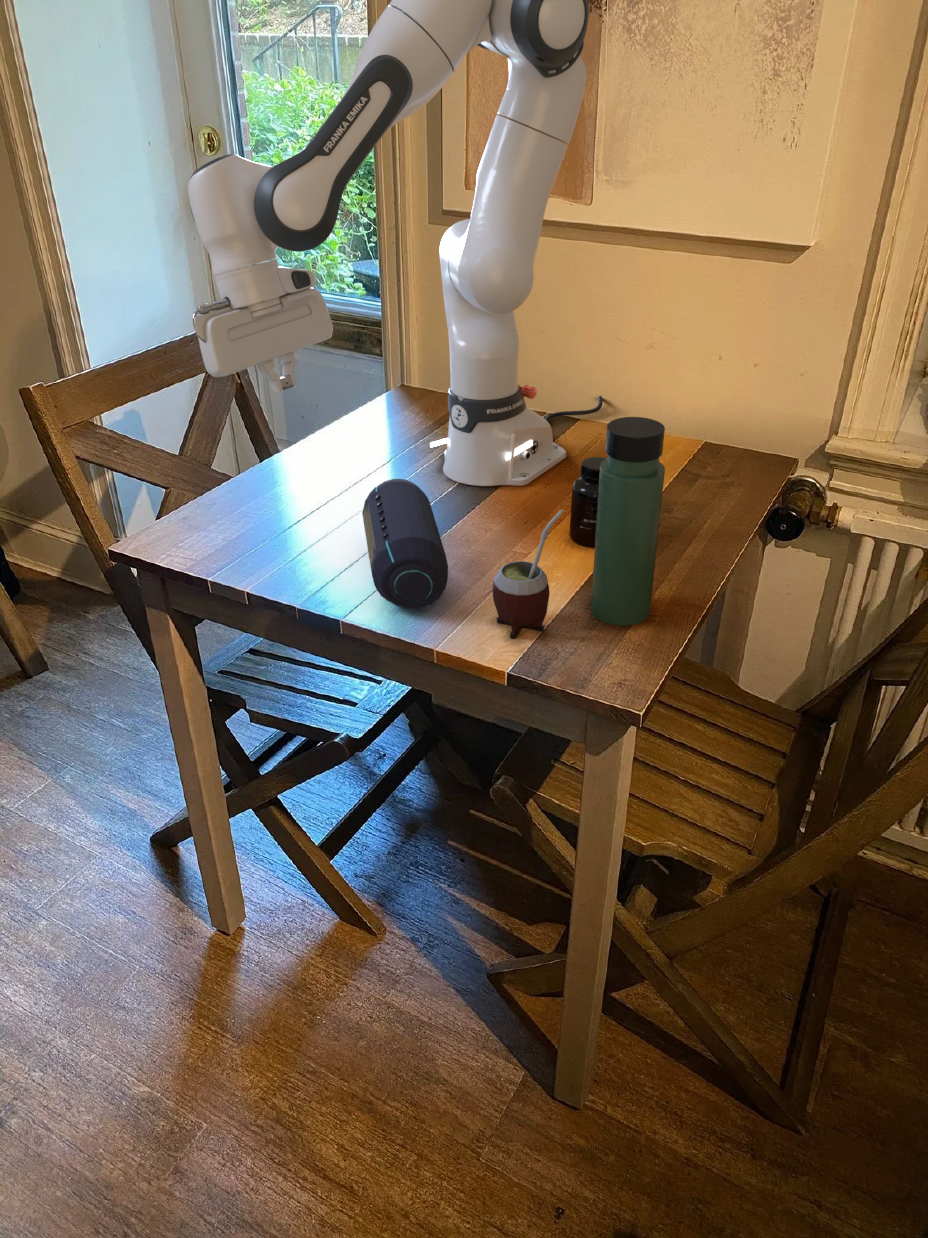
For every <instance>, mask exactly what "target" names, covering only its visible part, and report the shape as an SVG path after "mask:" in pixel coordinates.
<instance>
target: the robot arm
mask: <svg viewBox="0 0 928 1238" xmlns="http://www.w3.org/2000/svg"><path fill="white" fill-rule="evenodd" d="M589 13H590V3H589V0H390V2H389V4H387V6H386V7H385V9H384V10H383V12H382V13H381V14H380V16H379V18H378V19H377V21H376V22H375V24H374V25H373V26H372V29H371V31H370V33H369V34H368V36H367V38H366V40H365V42H364V44H363V46H362V48H361V49H360V50H361V51H360V52H359V55H358V57H357V61H356V64H355V68H354V72H353V76H352V78H351V81H350V83H349V85H348V88H347V90H346V91H345V93H344V95H343V96H342V97H341V98H340V99H341V100H340V101H339V102H338V103H337V105H336V106H335V107H334V109H333V110H332V111H331V113H330V114H329V116H328V117H327V118H326V120H325V121H324V122H323V123H322V125H321V126H320V127H319V129H318V130H317V131H316V133H315V134H314V136H313V137H312V138H311V140H310V141H309V142H308V143H307V144H306V145H305V146H304V148H303V149H302V150H301V151H299V152H298V153H297V154H295V155H293V156H291V157H289V158H287V159H285V160H283V161H280V162H279V163H277V164H275V165H274V166H272V165H268V164H263V163H259V162H255V161H252V160H249V159H247V158H244V157H241V156H240V155H239V154H237V153H229V154H224V155H222V156H219V157H216V158H214V159H212V160H209V161H208V162H206V163H204V164H202V165H200V167H198V168H196V169H195V170H194V171H193V172H192V174H191V175H190V177H189V181H188V182H187V183H188V184H187V194H188V200H189V204H190V208H191V212H192V215H193V219H194V223H195V226H196V229H197V233H198V235H199V238H200V241H201V243H202V245H203V246H204V248H205V250H206V251H207V253H208V255H209V259H210V263H211V271H212V272H211V273H212V276H213V279H214V282H215V284H216V288H217V291H218V294H219V296H220V297H219V298H220V299H218V300H215V301H212V302H210V303H204V304H201V305H199V306H197V310H195V311H194V312H193V315H192V319H191V322H192V327H193V329H194V332H195V335H196V336H197V339H198V343H199V348H200V349H199V350H200V353H201V357H202V361H203V364H204V368H205V371H206V372H207V373H208V374H209V375H210V376H212V377H213V378H223V377H227V376H230V375H233V374H235V373H239V372H241V371H244V370H247V369H249V368H252V367H255V366H257V370H258V372H259V373H260V374H261V375H262V376H263V377H264V378H265V379H266V380H267V381H268V382H269V383H270V386H271V388H272V391H273V392H274V394H280V393H283V392H285V391H287V390H291V389H293V388H296V387H297V382H296V379H295V375H294V374H295V369H296V361H297V359H296V356H295V352H297V351H299V350H302V349H305V348H307V347H310V346H313V345H315V344H318V343H321V342H324V341H326V340H329V339H332V336H333V333H334V324H333V321H332V318H331V315H330V312H329V309H328V307H327V304H326V302H325V301H326V300H325V298H324V296H323V295H322V293H321V292H320V291H319V290H318V289H317V288H315V286H316V285H317V279H316V275H315V273H314V271H313V270H310V269H303V268H294V267H292V268H291V267H285V266H280V264H279V261H278V258H277V254H276V253H277V250H278V249H279V248H281V249H283V250H285V251H290V252H297V253H298V252H308V251H311V250H313V249H316V248H317V247H320V246H321V245H322V244H323V243H324V242H325V241H326V240H327V239H328V238H329V237H330V235H331V234H332V232H333V230H334V228H335V227H336V226H335V225H336V223H337V220H338V215H339V212H340V205H341V201H342V197H343V194H344V192H345V189H346V188H347V186H348V184H349V183H350V181H351V180H352V178H353V177H354V176H355V174H356V173H357V172H358V170H359V169H360V167H361V166H362V165H363V164H364V162H365V160H366V159H367V158H368V156H370V153H372V151H373V150H374V149H375V147H376V146H377V144H378V143H379V141H381V140H382V139H383V137H384V136H385V135H386V134H387V132H389V130H391V129H392V128H393V127H394V126H396V125H397V124H398V123H400V122H401V121H403V120H405V119H407V118H409V117H412V116H413V115H415V114H416V113H418V112H419V111H420V110H421V109H422V108H424V107H425V106H426V105H427V104H428V103H429V102H430V101H431V100H433V98H434V97H435V96H436V95H437V94H438V93H439V92H440V91H441V90H442V88H443V87H444V86H445V85H446V84H447V82H448V81H449V80H450V79H451V77H452V76H453V74H454V73H455V72H456V70H457V69H458V68H459V66H460V65H461V64H462V63H463V60H464V59H465V58H466V56H467V54H469V53H470V52H471V51H472V50H473V49H474V48H475V47H476V46H478V47H479V48H482V49H484V50H488V51H491V52H494V53H496V54H497V55H500V56H503V57H505V58H507V63H508V80H507V85H506V89H505V92H504V94H503V96H502V99H501V102H500V104H499V107H498V110H497V113H496V116H495V118H494V121H493V125H492V127H491V130H490V133H489V137H488V139H487V142H486V145H485V147H484V151H483V152H482V153H483V154H482V156H481V159H480V162H479V165H478V169H477V172H476V185H475V191H474V197H473V203H472V209H471V213H470V218H466V219H463V220H459V221H457V222H455V223H453V224H452V225H451V226H450V227H448V229H447V230H446V231H445V232H444V234H443V236H442V238H441V241H440V244H439V261H440V263H439V264H440V272H441V273H440V274H441V275H440V276H441V286H442V293H443V302H444V303H443V304H444V311H445V318H446V325H447V331H448V346H449V374H450V375H449V376H450V377H449V378H450V386H449V388H448V390H447V391H448V392H447V407H448V408H447V409H448V413H449V418H448V429H447V437H446V438H445V437H444V438H441V439H439V440H435V441H431V442H430V443H429V447H430V448H434V447H438V446H441V445H444V444H445V445H446V449H445V450H444V453H443V455H444V456H443V457H444V462H443V467H442V473H443V474H444V475H445V477H447V478H448V479H450V480H451V481H454V482H457V483H460V484H463V485H469V486H475V487H476V486H478V487H494V486H516V487H523V486H527V485H528V484H530V483H531V482H533V481H534V480H536V479H537V478H538V477H540V476H541V475H543V474H544V473H545V472H547V471H549V470H550V469H551V468H554V467H555V466H556V465H557V464H559V463H560V462H562V461H563V460H565V459H566V458H567V451H566V450H565V448H563V447H562V446H561V445H559V444H558V443H555V442H554V437H553V429H552V426H551V424H550V423H549V421H550V420H551V419H553V418H557V417H564V416H565V417H567V416H583V415H586V416H587V415H592V414H595V413H597V412H599V411H600V410H601V409H602V407H603V396H602V395H601V396H602V397H601V396H599V397H598V396H597V406H596V407H594V408H590V409H585V410H584V409H583V410H565V411H564V410H563V411H556V412H553V413H550V414H548V415H546V416H545V418H544V417H543V416H541V415H540V414H538V413H537V412H535V411H534V410H533V409H531V408H530V407H529V406H527V403H526V401H525V398H527V399H529V400H534V399H535V398H536V395H538V393H537V392H538V391H537V390H538V389H537V388H536V387H535V386H531V385H529V384H525V385H523V386H520V384H519V381H520V379H519V377H520V376H519V375H520V339H519V334H518V330H517V324H516V320H515V318H516V317H515V312H514V311H515V310H517V309H519V308H520V307H521V306H522V305H523V304H524V303H525V302H526V301H527V300H528V298H529V296H530V294H531V292H532V289H533V285H534V278H535V276H534V267H535V266H534V265H535V260H536V256H537V252H538V251H537V250H538V246H539V242H540V237H541V232H542V227H543V222H544V217H545V213H546V209H547V206H548V203H549V198H550V194H551V192H552V190H553V187H554V185H555V182H556V179H557V176H558V174H559V171H560V168H561V166H562V162H563V161H564V158H565V155H566V152H567V150H568V147H569V144H570V142H571V140H572V139H571V138H572V136H573V134H574V130H575V127H576V125H577V124H576V123H577V121H578V118H579V113H580V109H581V106H582V102H583V97H584V93H585V89H586V83H587V67H586V64H585V62H584V61H583V60H584V59H582V58H581V54H582V52H583V49H584V45H585V39H586V38H585V37H586V34H587V30H588V25H589V20H590V19H589V18H590V14H589ZM275 359H278V363H279V364H282V373H281V375H282V376H279V375H278V374H277V373H276V372H275V370H274V368H275V367H276V365H275V362H274V360H275Z"/></svg>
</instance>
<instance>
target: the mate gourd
mask: <svg viewBox="0 0 928 1238" xmlns="http://www.w3.org/2000/svg"><path fill="white" fill-rule="evenodd" d="M563 513H564V509H563V508H561V509H560V510H559V511H558V512H556V514H555V515H554V516H553V517H552V518H551V519H550V521H549V522H548V523H547V524H546V526H545V527H544V529H542V532H541V534H540V540H539V544H538V547H537V550H536V552H535V556H534V560H533V562H532V561H525V560H519V561H512V562H508V563H506V564H505V565H502V567H500V568H499V570H498V572H496V574H495V576H494V578H493V583H492V588H491V589H492V590H491V591H492V600H493V603H494V607H495V610H496V613H497V617H496V619H495V620H496V624H500V625H505V626H510V627H511V632H510V633H509V638H510V639H512V640H516V639H517V638H518V637H519V634H520V633H521V631H522V630H523V629H526V630H529V631H530V630H531V631H536V632H544V630H545V624H544V621H545V618H546V616H547V613H548V607H549V601H550V600H549V599H550V586H549V581H548V575H547V574H546V573H545V571H544V570H543V569H542V568H541V567H540V566H539V565H538V564H539V561H540V558H541V555H542V551H543V549H544V546H545V542H546V540H547V539H548V537H549V534H550V530H551V528H552V527H553V526H554V524H555V523H556V522H557V520H558V519H559V517H561V515H562V514H563Z"/></svg>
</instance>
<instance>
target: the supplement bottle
mask: <svg viewBox="0 0 928 1238" xmlns="http://www.w3.org/2000/svg"><path fill="white" fill-rule="evenodd" d="M606 459H607V457H601V456H591V457H587V458H584V459H583V460H582V461H581V464H580V471H579V475H580V476H579V477H577V478H576V479H575V480H574V482H573V483H572V488H571V502H570V503H571V504H570V515H569V516H570V517H569V538H570V540H571V541H572V542H573V543H574V544H576V545H578V546H579V547H583V548H587V549H595V536H596V521H597V505H598V490H599V475H600V465H601V463H602V462H603V461H604V460H606Z"/></svg>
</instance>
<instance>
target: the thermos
mask: <svg viewBox="0 0 928 1238" xmlns="http://www.w3.org/2000/svg"><path fill="white" fill-rule="evenodd" d="M665 431H666V428H665V425H664V424H663V423H662V422H660V421H659V420H656V419H652V418H648V417H642V416H625V417H619V418H615V419H613V420H611V421H609V422H607V425H606V436H605V449H604V450H605V453H606V455H607V457H606V458H607V459H606V460H604V461H603V462H602V463H601V465H600V475H599V490H598V505H597V521H596V536H595V548H594V550H593V551H594V552H593V555H594V556H593V566H592V567H593V568H592V571H593V572H592V584H591V600H590V612H591V613H592V615H593V616H594V617H595V618H596V619H597V620H599V621H601V622H603V623H606V624H609V625H612V626H621V627H622V626H623V627H625V626H627V627H629V626H634V625H638V624H640V623H643V622H645V621H646V620H647V619H648V618H649V616H650V614H651V605H652V596H653V587H654V578H655V569H656V560H657V559H656V558H657V549H658V540H659V530H660V520H661V512H662V511H661V510H662V502H663V501H662V500H663V493H664V484H665V483H664V482H665V473H666V468H665V465H664V464H663V463H662V462H661V461H660V457H662V455H663V450H664V443H665V441H664V440H665Z"/></svg>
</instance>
